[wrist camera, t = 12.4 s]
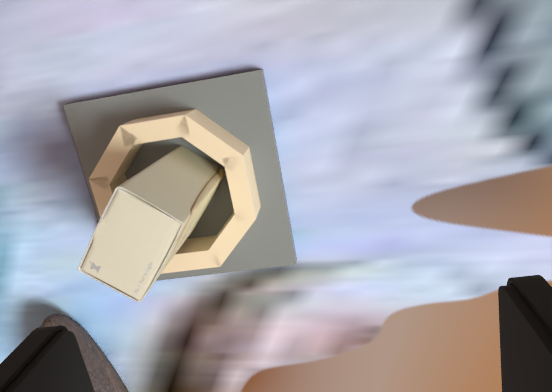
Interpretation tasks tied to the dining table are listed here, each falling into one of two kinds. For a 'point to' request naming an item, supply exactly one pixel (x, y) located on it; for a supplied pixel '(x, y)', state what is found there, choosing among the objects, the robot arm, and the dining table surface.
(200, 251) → the collar board
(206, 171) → the skincare box
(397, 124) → the dining table surface
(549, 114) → the dining table surface
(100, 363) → the perforated stone tool
